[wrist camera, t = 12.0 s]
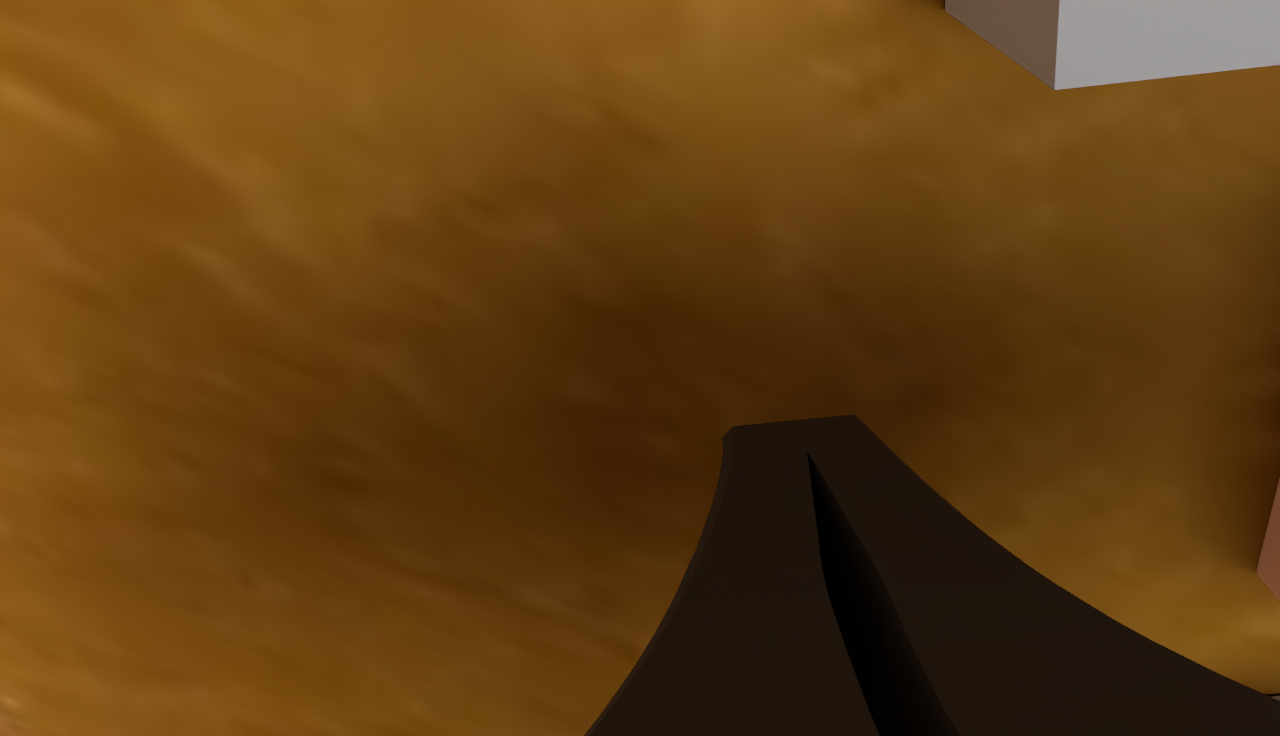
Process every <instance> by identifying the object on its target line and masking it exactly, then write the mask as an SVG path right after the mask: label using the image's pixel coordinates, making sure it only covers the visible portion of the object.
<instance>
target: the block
mask: <svg viewBox="0 0 1280 736" xmlns="http://www.w3.org/2000/svg"><path fill="white" fill-rule="evenodd" d="M1256 573H1257V574H1258V576H1259V577H1260V578H1261V579H1262V581H1263V582H1264V583H1265V584H1266V586H1267V587H1268V588H1269V589H1270V591H1271V592H1272V593H1273V594H1274V596H1275V597H1276V598H1277V599H1278V601H1279V602H1280V479H1279V483H1278V487H1277V491H1276V495H1275V499H1274V503H1273V507H1272V511H1271V515H1270V519H1269V523H1268V527H1267V531H1266V535H1265V539H1264V543H1263V547H1262V551H1261V555H1260V559H1259V563H1258V567H1257V571H1256Z"/></svg>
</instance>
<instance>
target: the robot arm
mask: <svg viewBox="0 0 1280 736" xmlns="http://www.w3.org/2000/svg"><path fill="white" fill-rule="evenodd" d="M722 439H723V459H722V466H721V471H720V476H719V480H718V484H717V488H716V492H715V496H714V500H713V503H712V506H711V508H710V511H709V514H708V517H707V520H706V523H705V526H704V529H703V532H702V535H701V538H700V540H699V543H698V545H697V548H696V550H695V553H694V555H693V557H692V559H691V562H690V564H689V566H688V568H687V570H686V573H685V575H684V577H683V579H682V581H681V584H680V586H679V588H678V590H677V592H676V595H675V597H674V599H673V601H672V603H671V605H670V606H669V608H668V610H667V612H666V614H665V616H664V618H663V620H662V621H661V623H660V625H659V627H658V629H657V630H656V632H655V634H654V636H653V637H652V639H651V641H650V642H649V644H648V645H647V647H646V649H645V650H644V652H643V654H642V655H641V657H640V659H639V660H638V662H637V663H636V665H635V667H634V668H633V669H632V671H631V672H630V674H629V675H628V677H627V678H626V679H625V681H624V682H623V684H622V685H621V687H620V688H619V690H618V691H617V692H616V694H615V695H614V697H613V698H612V700H611V701H610V702H609V704H608V705H607V707H606V708H605V709H604V711H603V712H602V713H601V715H600V716H599V717H598V719H597V720H596V721H595V723H594V724H593V725H592V726H591V728H590V729H589V730H588V731H587V733H586V734H585V735H584V736H1280V701H1279V700H1277V699H1274V698H1272V697H1269V696H1267V695H1265V694H1262V693H1260V692H1258V691H1256V690H1254V689H1251V688H1249V687H1247V686H1245V685H1242V684H1240V683H1238V682H1236V681H1233V680H1231V679H1229V678H1227V677H1224V676H1222V675H1220V674H1218V673H1216V672H1214V671H1212V670H1210V669H1208V668H1206V667H1204V666H1202V665H1200V664H1198V663H1196V662H1194V661H1192V660H1190V659H1188V658H1186V657H1184V656H1182V655H1180V654H1178V653H1176V652H1174V651H1172V650H1170V649H1168V648H1166V647H1164V646H1162V645H1160V644H1158V643H1156V642H1154V641H1152V640H1150V639H1148V638H1146V637H1144V636H1142V635H1141V634H1139V633H1137V632H1135V631H1133V630H1131V629H1130V628H1128V627H1126V626H1124V625H1122V624H1121V623H1119V622H1117V621H1115V620H1113V619H1112V618H1110V617H1109V616H1107V615H1105V614H1104V613H1102V612H1100V611H1099V610H1097V609H1095V608H1094V607H1092V606H1091V605H1089V604H1087V603H1086V602H1084V601H1082V600H1081V599H1079V598H1077V597H1076V596H1074V595H1073V594H1071V593H1069V592H1068V591H1066V590H1064V589H1063V588H1061V587H1059V586H1058V585H1056V584H1055V583H1053V582H1052V581H1050V580H1049V579H1047V578H1046V577H1044V576H1043V575H1041V574H1040V573H1038V572H1037V571H1035V570H1034V569H1033V568H1031V567H1030V566H1028V565H1027V564H1025V563H1024V562H1023V561H1021V560H1020V559H1019V558H1017V557H1016V556H1015V555H1013V554H1012V553H1011V552H1009V551H1008V550H1007V549H1005V548H1004V547H1002V546H1001V545H1000V544H998V543H997V542H996V541H994V540H993V539H992V538H990V537H989V536H988V535H987V534H985V533H984V532H983V531H982V530H980V529H979V528H978V527H977V526H975V525H974V524H973V523H972V522H971V521H969V520H968V519H967V518H966V517H965V516H964V515H962V514H961V513H960V512H959V511H958V510H957V509H955V508H954V507H953V506H952V505H951V504H950V503H948V502H947V501H946V500H945V499H944V498H943V497H941V496H940V495H939V494H938V493H937V492H936V491H935V490H933V489H932V488H931V487H930V486H929V485H928V484H927V483H926V482H925V481H923V480H922V479H921V478H920V477H919V476H918V475H917V474H916V473H915V472H914V471H913V470H912V469H911V468H910V467H908V466H907V465H906V464H905V463H904V462H903V461H902V460H901V459H900V458H899V457H898V456H897V455H896V454H895V453H894V452H893V451H892V450H891V449H890V448H889V447H888V446H887V445H886V444H885V443H884V442H883V441H882V440H881V439H880V438H879V437H878V436H877V435H876V434H875V433H874V432H873V431H871V430H870V429H869V428H868V427H867V426H866V425H865V424H864V423H863V422H862V421H861V420H860V419H858V418H857V417H856V416H855V415H846V416H836V417H825V418H815V419H805V420H795V421H785V422H774V423H764V424H754V425H744V426H733V427H732V428H731V429H730V430H729V431H728V432H727V433H726V434H725V435H724V436H723V437H722Z"/></svg>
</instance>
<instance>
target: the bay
mask: <svg viewBox="0 0 1280 736" xmlns="http://www.w3.org/2000/svg"><path fill="white" fill-rule="evenodd" d="M945 11H946V12H947V13H949V14H950V15H951V16H953V17H954V18H956V19H957V20H958V21H960V22H961V23H963V24H964V25H965V26H967V27H968V28H969V29H971V30H972V31H974V32H975V33H976V34H978V35H979V36H980V37H982V38H983V39H985V40H986V41H987V42H989V43H990V44H991V45H993V46H994V47H996V48H997V49H998V50H1000V51H1001V52H1003V53H1004V54H1005V55H1007V56H1008V57H1009V58H1011V59H1012V60H1014V61H1015V62H1016V63H1018V64H1019V65H1020V66H1022V67H1023V68H1025V69H1026V70H1027V71H1029V72H1030V73H1031V74H1033V75H1034V76H1036V77H1037V78H1038V79H1040V80H1041V81H1042V82H1044V83H1045V84H1047V85H1048V86H1049V87H1051V88H1052V89H1054V90H1060V89H1069V88H1078V87H1087V86H1096V85H1104V84H1113V83H1122V82H1131V81H1140V80H1149V79H1158V78H1167V77H1176V76H1185V75H1193V74H1202V73H1211V72H1220V71H1229V70H1238V69H1247V68H1256V67H1265V66H1274V65H1280V0H945ZM1272 698H1274V699H1277V700H1279V701H1280V696H1272Z"/></svg>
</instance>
